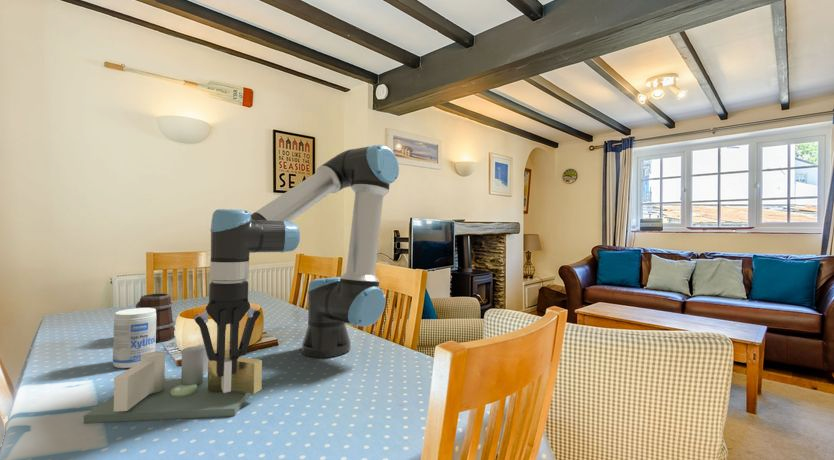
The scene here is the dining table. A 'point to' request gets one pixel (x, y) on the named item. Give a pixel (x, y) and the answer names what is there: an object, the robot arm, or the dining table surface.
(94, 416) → the base
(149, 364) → the cream piece
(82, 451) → the dining table surface
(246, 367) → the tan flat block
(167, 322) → the mug
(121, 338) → the supplement tub
